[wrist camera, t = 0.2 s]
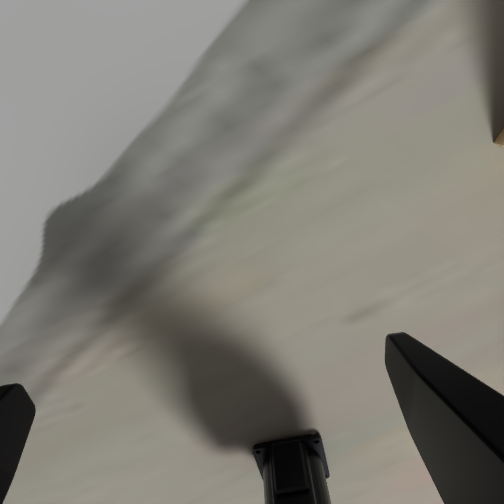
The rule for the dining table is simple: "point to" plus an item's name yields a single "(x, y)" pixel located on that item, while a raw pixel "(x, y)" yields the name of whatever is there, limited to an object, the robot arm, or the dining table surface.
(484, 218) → the dining table surface
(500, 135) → the oak block
